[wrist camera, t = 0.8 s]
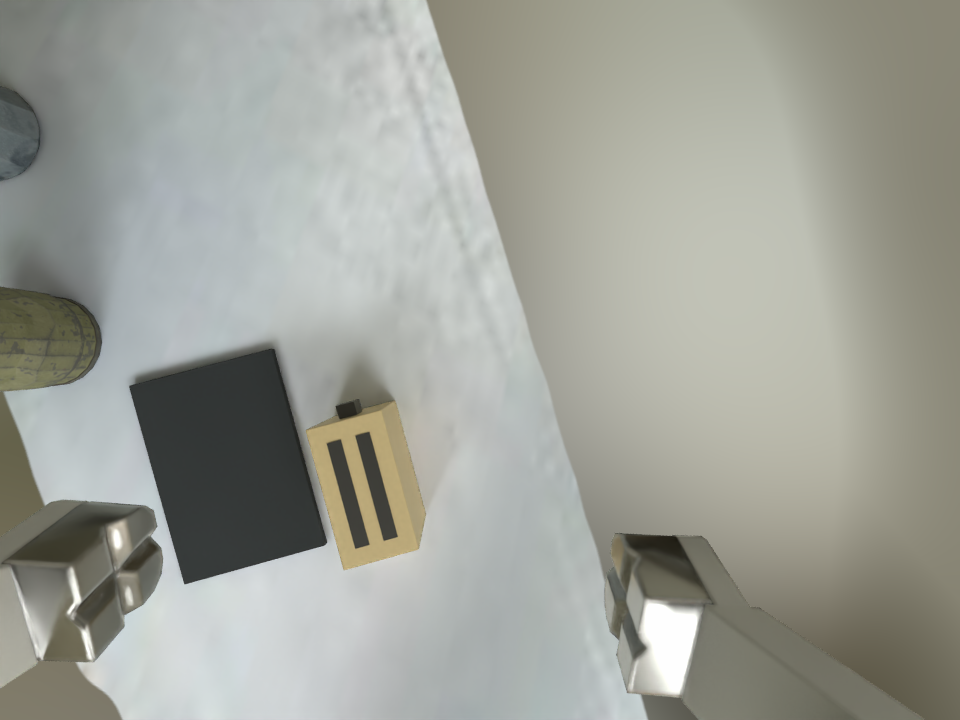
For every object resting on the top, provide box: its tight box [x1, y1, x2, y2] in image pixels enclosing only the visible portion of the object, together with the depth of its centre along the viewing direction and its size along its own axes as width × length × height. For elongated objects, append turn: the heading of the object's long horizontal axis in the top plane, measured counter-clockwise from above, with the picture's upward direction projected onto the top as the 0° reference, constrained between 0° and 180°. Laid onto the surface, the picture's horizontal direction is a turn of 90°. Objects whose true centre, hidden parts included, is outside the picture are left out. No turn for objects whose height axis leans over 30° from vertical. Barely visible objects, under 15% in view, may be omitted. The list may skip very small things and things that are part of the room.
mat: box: [129, 349, 327, 584], centre depth 49 cm, size 20×14×1 cm
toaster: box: [306, 399, 426, 570], centre depth 45 cm, size 13×6×9 cm, turn 15°
